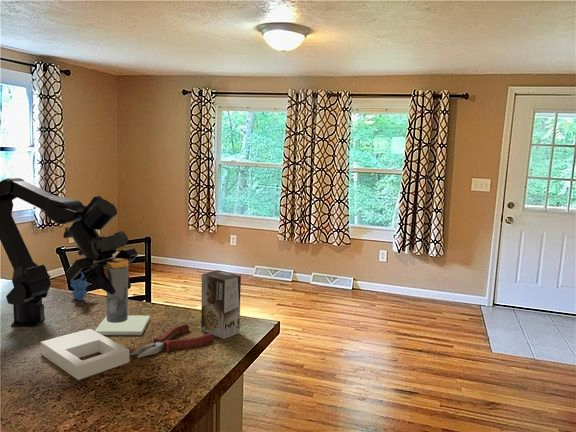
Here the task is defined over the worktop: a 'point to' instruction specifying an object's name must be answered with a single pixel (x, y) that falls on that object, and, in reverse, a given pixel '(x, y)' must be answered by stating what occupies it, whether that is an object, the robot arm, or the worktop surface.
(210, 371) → the worktop surface
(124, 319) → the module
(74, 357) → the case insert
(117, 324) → the mat
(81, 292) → the grapes
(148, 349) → the pliers
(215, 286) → the coffee box
